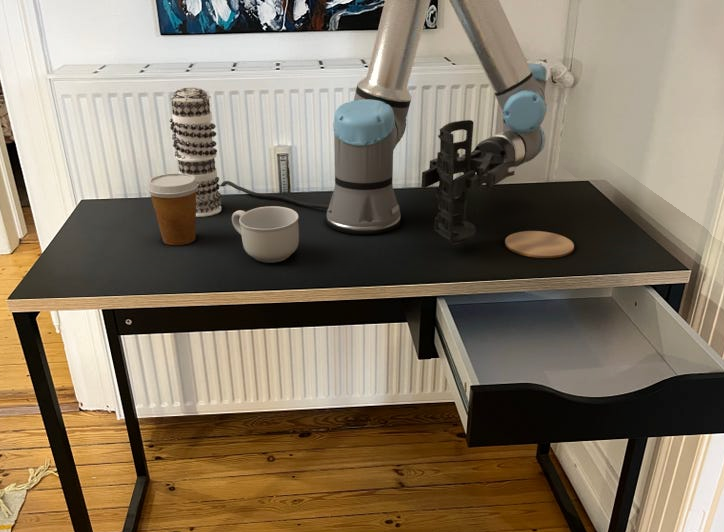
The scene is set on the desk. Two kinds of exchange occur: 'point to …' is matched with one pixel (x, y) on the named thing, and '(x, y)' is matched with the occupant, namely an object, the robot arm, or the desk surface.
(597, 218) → the desk surface
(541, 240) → the cork mat
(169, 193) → the disposable coffee cup
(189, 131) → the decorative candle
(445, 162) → the holder
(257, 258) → the teacup
